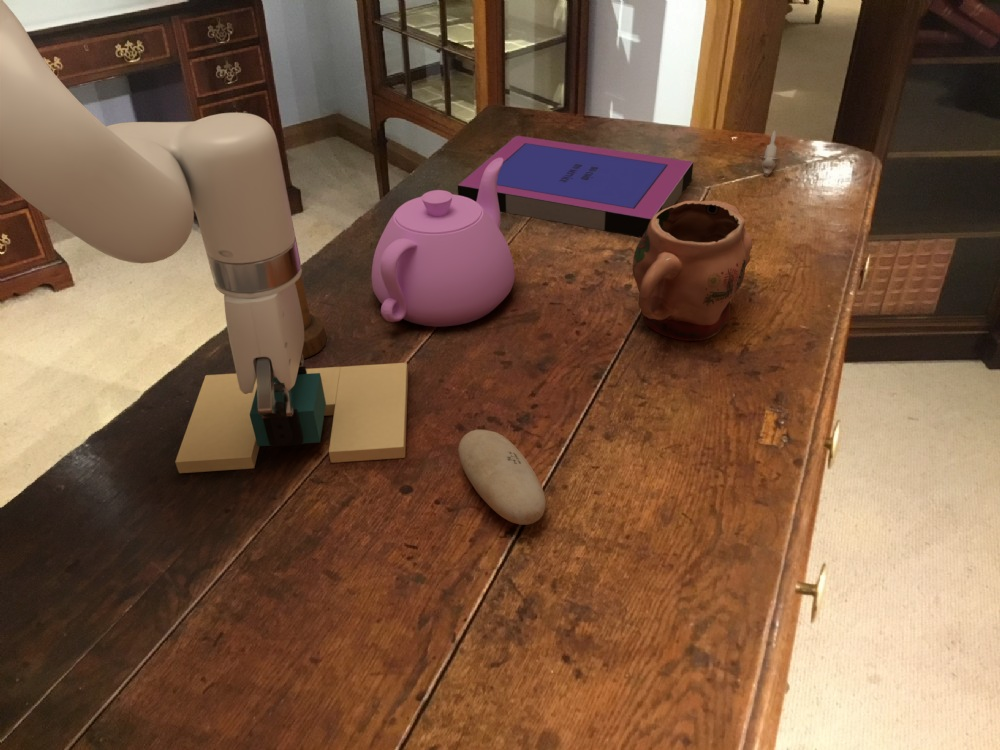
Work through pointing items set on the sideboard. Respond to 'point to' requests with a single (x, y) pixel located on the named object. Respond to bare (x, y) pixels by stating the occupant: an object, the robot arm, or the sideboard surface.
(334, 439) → the tan u-shaped block
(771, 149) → the dog figurine
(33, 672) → the sideboard surface
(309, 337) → the mortar and pestle
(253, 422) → the teal block
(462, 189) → the book
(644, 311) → the decorative planter
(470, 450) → the stone
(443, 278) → the teapot
